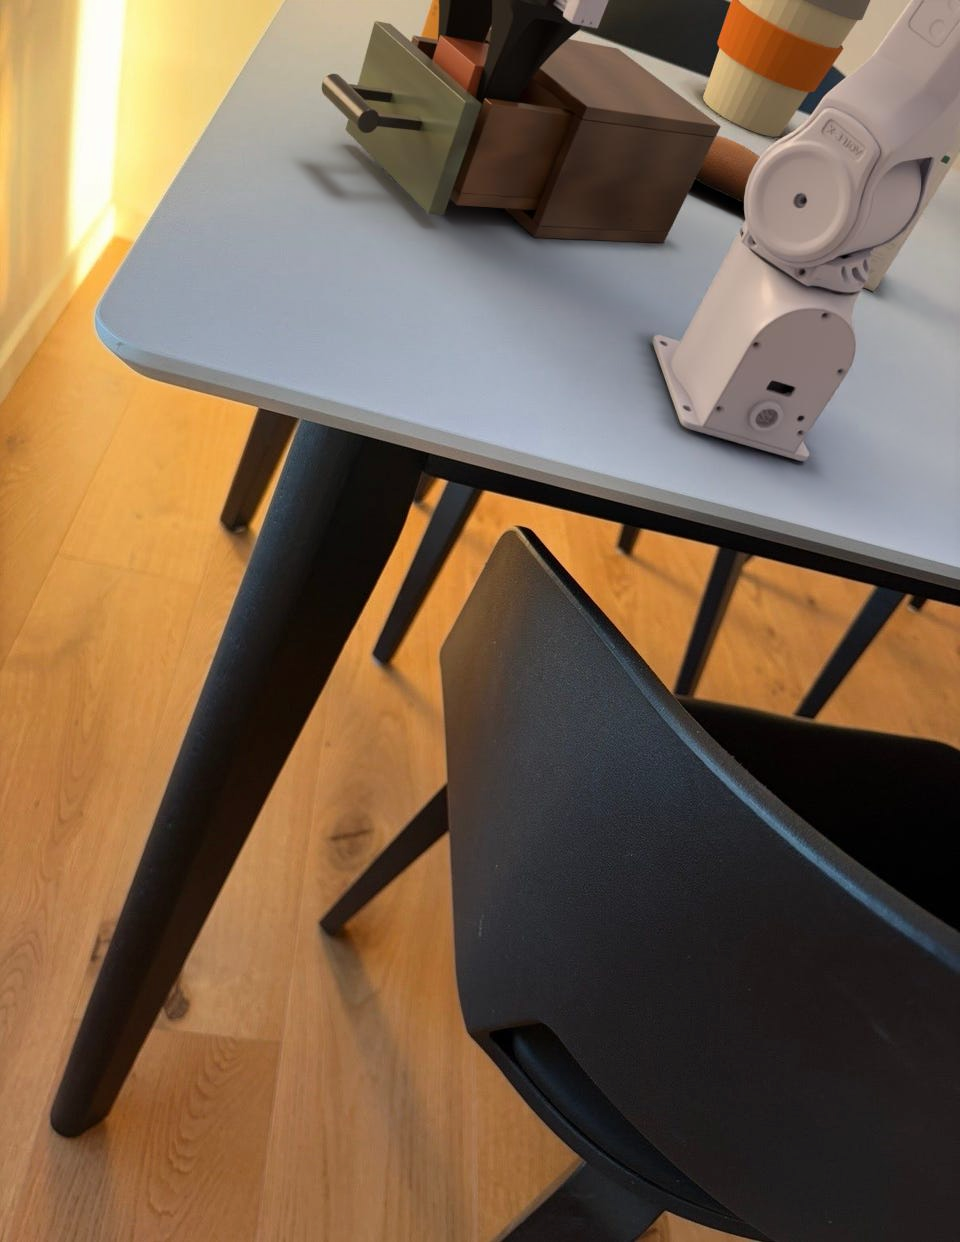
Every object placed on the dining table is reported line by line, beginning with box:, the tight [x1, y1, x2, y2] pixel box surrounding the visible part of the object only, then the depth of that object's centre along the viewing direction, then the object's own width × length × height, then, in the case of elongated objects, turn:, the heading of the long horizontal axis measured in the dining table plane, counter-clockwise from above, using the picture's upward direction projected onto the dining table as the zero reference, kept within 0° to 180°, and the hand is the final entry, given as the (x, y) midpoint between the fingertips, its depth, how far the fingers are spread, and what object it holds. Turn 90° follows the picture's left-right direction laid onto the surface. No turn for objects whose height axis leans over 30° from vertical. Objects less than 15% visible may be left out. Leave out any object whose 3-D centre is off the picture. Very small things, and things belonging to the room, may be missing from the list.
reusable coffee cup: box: [702, 0, 871, 138], centre depth 110 cm, size 12×13×15 cm
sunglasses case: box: [695, 134, 760, 204], centre depth 92 cm, size 18×7×7 cm
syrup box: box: [863, 124, 960, 292], centre depth 86 cm, size 6×6×14 cm
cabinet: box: [484, 25, 721, 244], centre depth 76 cm, size 13×12×9 cm
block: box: [432, 35, 489, 134], centre depth 68 cm, size 4×4×4 cm
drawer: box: [321, 20, 575, 216], centre depth 69 cm, size 16×10×7 cm, turn 125°
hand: (469, 96), depth 68 cm, fingers closed on block, 4 cm apart
